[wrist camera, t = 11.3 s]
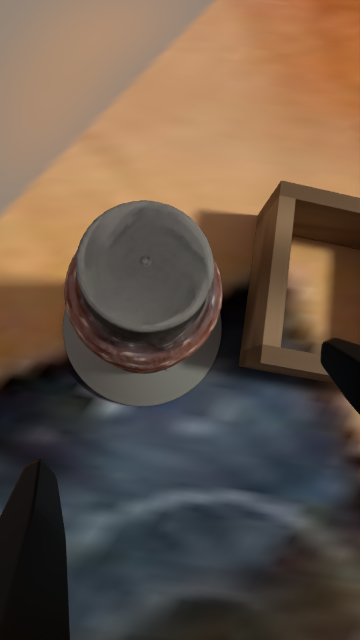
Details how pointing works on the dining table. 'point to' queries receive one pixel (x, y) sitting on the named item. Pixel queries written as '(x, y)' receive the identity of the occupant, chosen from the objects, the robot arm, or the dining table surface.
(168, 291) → the supplement bottle
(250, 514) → the dining table surface
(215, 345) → the rubber mat
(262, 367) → the walnut box
